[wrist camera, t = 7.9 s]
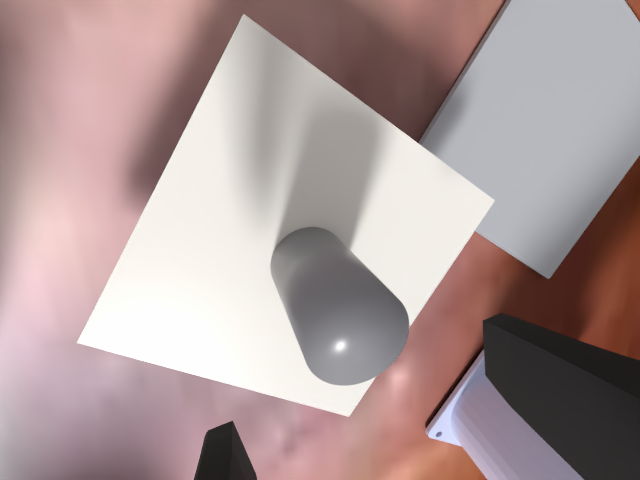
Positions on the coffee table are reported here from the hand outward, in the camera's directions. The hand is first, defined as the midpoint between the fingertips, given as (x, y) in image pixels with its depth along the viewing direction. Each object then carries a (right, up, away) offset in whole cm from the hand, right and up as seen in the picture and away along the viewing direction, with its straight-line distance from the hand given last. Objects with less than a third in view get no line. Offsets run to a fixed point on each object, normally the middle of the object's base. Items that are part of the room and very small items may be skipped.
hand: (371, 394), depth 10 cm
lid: (-2, +3, +5) cm, 6 cm away
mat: (+12, +10, +11) cm, 19 cm away
